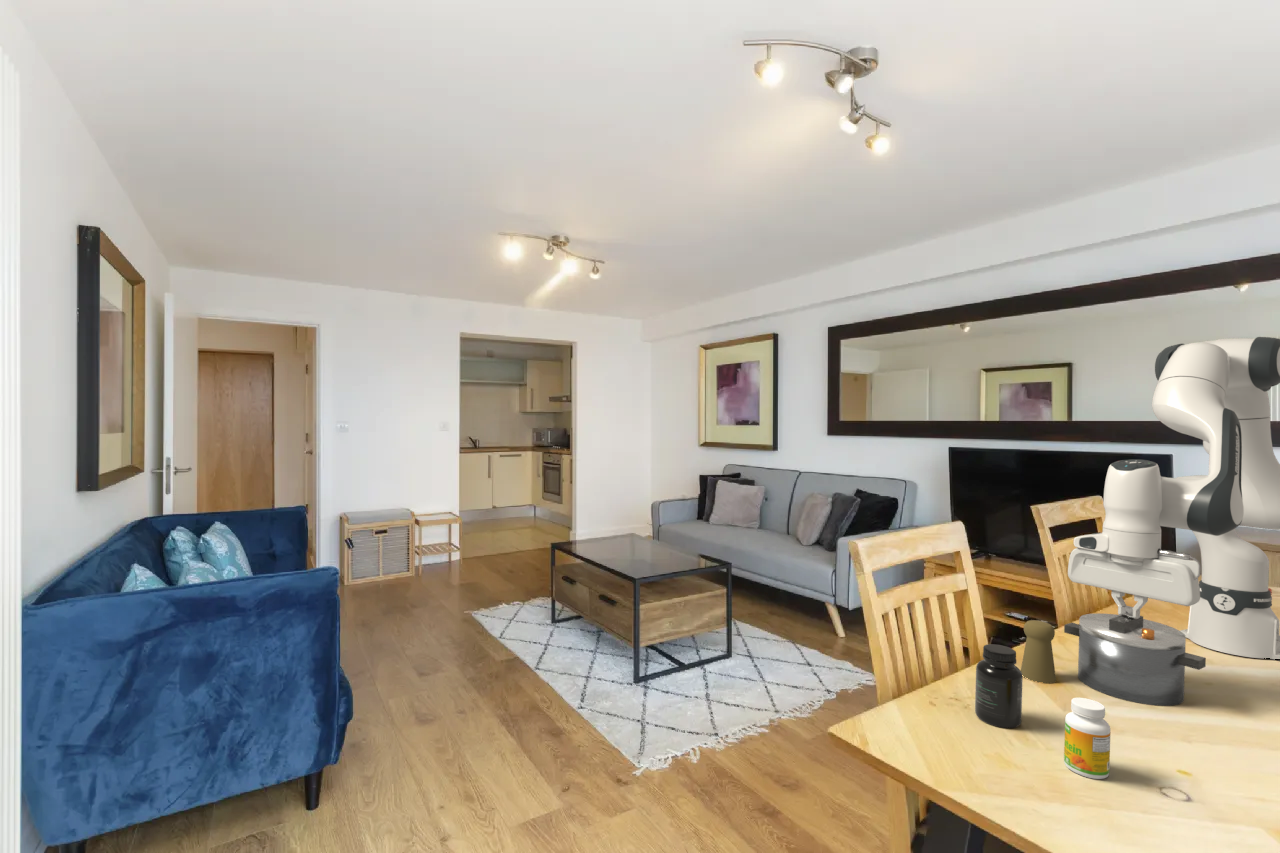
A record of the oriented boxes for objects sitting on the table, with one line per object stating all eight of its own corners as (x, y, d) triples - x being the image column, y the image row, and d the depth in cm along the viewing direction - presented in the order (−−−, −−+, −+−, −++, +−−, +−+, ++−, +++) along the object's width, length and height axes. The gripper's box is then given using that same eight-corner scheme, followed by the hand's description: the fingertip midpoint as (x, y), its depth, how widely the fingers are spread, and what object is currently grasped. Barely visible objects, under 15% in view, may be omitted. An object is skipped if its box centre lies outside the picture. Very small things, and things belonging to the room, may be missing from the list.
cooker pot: (1085, 659, 133) (1086, 613, 133) (1217, 699, 114) (1219, 645, 114) (1046, 674, 125) (1048, 624, 124) (1182, 720, 106) (1184, 662, 106)
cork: (1061, 684, 120) (1063, 628, 120) (1027, 681, 121) (1028, 625, 121) (1047, 672, 126) (1049, 618, 125) (1015, 669, 127) (1016, 616, 127)
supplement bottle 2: (1054, 759, 93) (1056, 695, 93) (1088, 758, 93) (1090, 694, 93) (1083, 780, 87) (1085, 712, 87) (1119, 779, 88) (1121, 711, 88)
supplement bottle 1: (1000, 708, 109) (1002, 640, 109) (1031, 727, 102) (1033, 655, 102) (965, 711, 108) (967, 642, 108) (994, 730, 101) (996, 657, 101)
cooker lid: (1102, 616, 130) (1102, 599, 130) (1200, 640, 117) (1200, 621, 116) (1063, 628, 122) (1063, 611, 122) (1164, 656, 108) (1164, 636, 108)
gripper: (1207, 553, 111) (1205, 630, 112) (1080, 534, 129) (1078, 600, 129) (1193, 557, 108) (1191, 636, 108) (1064, 536, 126) (1062, 604, 126)
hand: (1128, 616), depth 119 cm, fingers closed
